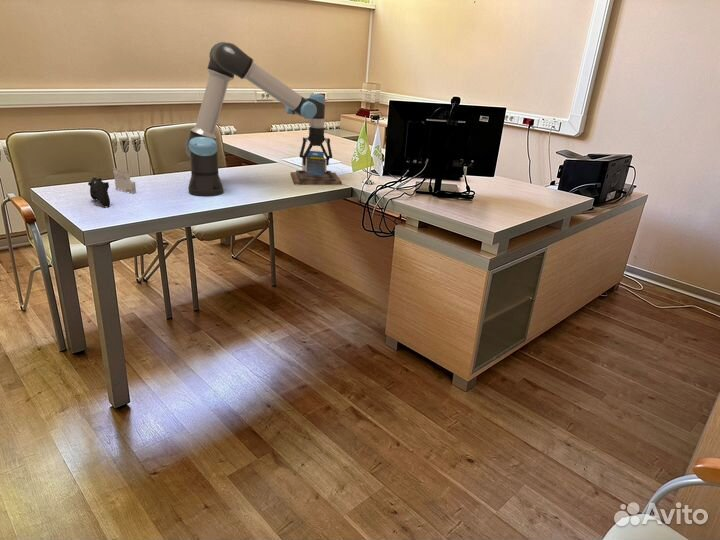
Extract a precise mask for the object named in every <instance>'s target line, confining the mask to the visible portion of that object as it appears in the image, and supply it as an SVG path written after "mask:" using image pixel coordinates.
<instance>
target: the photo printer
mask: <svg viewBox="0 0 720 540" xmlns="http://www.w3.org/2000/svg"><path fill="white" fill-rule="evenodd" d="M306 150H307V149H304V152H303V156H304V154H305V152H306ZM310 151H318V152H321V150H318V149H314V148H313V149H312V148H311V150H310ZM313 155H318V154H316V153H313ZM306 158H307V157H306ZM301 170H303V171H305V165H303V158H301Z"/></svg>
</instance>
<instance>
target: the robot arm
mask: <svg viewBox="0 0 720 540" xmlns="http://www.w3.org/2000/svg"><path fill="white" fill-rule="evenodd" d="M206 70H207V71H208V75H209V76H208V80H207V82H206V86H205V89H204V94H203V97H202V101H201V104H200V108H199V112H198V116H197V120H196V122H195V123H196V124H195V126H194V127H193V128H191V129H190V132H189V135H188V137H187V139H186V141H185V142H184V143H185V144H184V149H185V154H186V156H187V157H188V158H189V160H190V172H191V173H190V174H191V176H190V179H189V183H188V194H190V195H193V196H199V197H213V195H214V196H218V195H221V194H223V193H224V185H223V183H222V180H221V177H220V175H219V162H218V161H219V160H218V159H219V158H218V143H217V136H216V134H215V131H216V128H217V125H218V122H219V121H218V120H219V117H220V113H221V110H222V107H223V103H224V99H225V95H226V93H227V89H228V86H229V83H230V81H232V80H234V77H235V76H236V77H238V78H240V79H241V80H247V81H248V82H250V83H251V84H252V85H254V86H256V87H257V88H259V89H260V90H262V92H263V91H264V92H265V93H266V94H268V95H269V96H271V97H272V98H274V99H275V100H277V101H278V102H280V103H281V104H283V105H284V109H285V112H286V114H287V115H298V116H299V117H302V118H303V119H308V120H309V122H308V126H309V128H308V136H307V137H302V145H301V147H300V152H299V158H301V159H302V158H303V165H305V172H307V158H306V157H307V155H308V153H309V151H310V150H311V149H312V148H313V147H320V149H321V150H322V152H324V158H325V171H324V172H326V171H327V166H329V163H330V162H329V161H330V159H332V158H333V153H332V147H331V138H329V137H325V128H324V127H325V117H326V116H325V115H326V113H325V112H326V96H325V95H324V94H319V93H310V94H309V97H308V98H305V97H303V96H302V95H301V94H299V93H298V92H297V91H295V90H294V89H292V88H290V87H289V86H288V85H287V84H285V83H283V82H282V81H281V80H280V79H278V78H277V77H275V76H273V75H272V74H270V72H269V71H266V70H265V69H264V68H262V67H260V66H259V65H257V63H255V61H254V59H253V58H252V57H250V56H249V55H248V54H247V53H245V52H244V51H243V50H242V49H241V48H239V47H238V46H237V45H236V44H234V43H231V42H226V41H221V42H220V41H219V42H217V43H215V44H214V45H213V46H212V47H211V49H210V51H209V61H208V65H207V69H206ZM308 141H309V145H308V147H307V149H305V148H306V145H307V142H308ZM324 142H325V143H326V145H327V146H326V147H327V150H326V149H325V147H324V145H323V143H324ZM304 150H306V152H305V154H304V156H303V152H304ZM327 151H328V153H327Z"/></svg>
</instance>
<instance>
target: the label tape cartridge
mask: <svg viewBox="0 0 720 540" xmlns="http://www.w3.org/2000/svg"><path fill="white" fill-rule="evenodd" d="M313 153H316V154H318V155H313ZM325 159H326V157H325V155H324V152H323V151H320V152H318V151H309V153H308V155H307V175H319V176H324V171H325Z"/></svg>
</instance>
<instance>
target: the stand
mask: <svg viewBox="0 0 720 540" xmlns="http://www.w3.org/2000/svg"><path fill="white" fill-rule="evenodd" d="M290 177H291V180H292V183H293V185H294V184H298V185H297V186H299V185H303V186H304V185H305V186H307V185H309V186H310V185H311V186H314V185H315V186H320V185H321V186H342V185H343V182H342V180H341V179H340V178H339V176H338V174H337V173H336V172H332V170H326V172H324V176H319V175H307V172H305V171H303V170H302V169H301V170H300V169H299V170H296V171H290Z"/></svg>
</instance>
